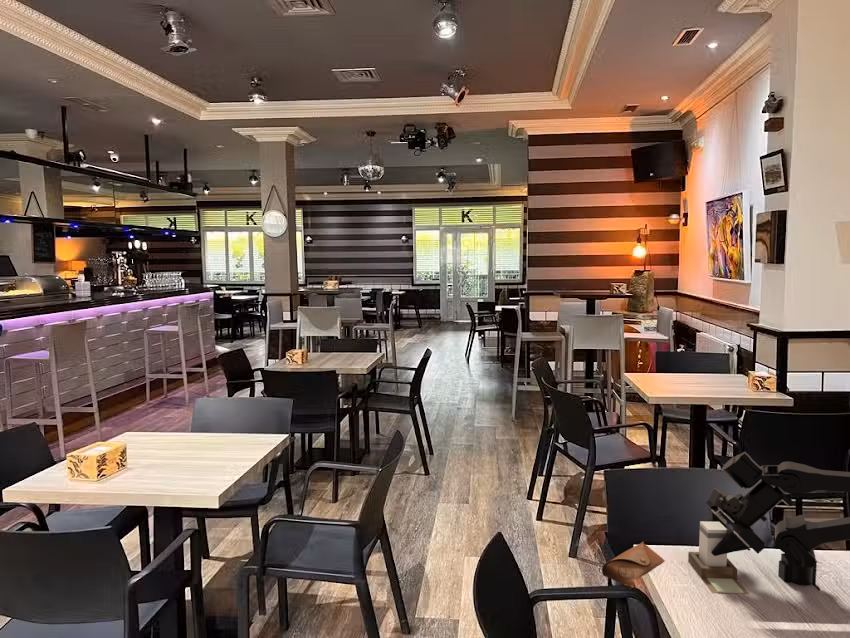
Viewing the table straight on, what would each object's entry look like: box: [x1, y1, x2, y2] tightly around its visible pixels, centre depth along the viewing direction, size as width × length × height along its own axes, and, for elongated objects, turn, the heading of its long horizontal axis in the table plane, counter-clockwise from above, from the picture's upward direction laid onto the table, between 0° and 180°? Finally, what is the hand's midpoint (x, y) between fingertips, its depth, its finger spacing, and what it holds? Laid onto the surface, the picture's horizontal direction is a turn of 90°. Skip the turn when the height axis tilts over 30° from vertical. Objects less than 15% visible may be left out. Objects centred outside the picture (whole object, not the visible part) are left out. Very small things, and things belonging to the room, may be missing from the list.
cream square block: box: [698, 520, 728, 567], centre depth 139 cm, size 5×5×11 cm
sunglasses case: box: [601, 541, 666, 589], centre depth 142 cm, size 18×7×7 cm
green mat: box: [707, 578, 744, 594], centre depth 132 cm, size 6×6×1 cm
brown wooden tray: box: [687, 551, 750, 595], centre depth 136 cm, size 8×14×4 cm, turn 176°
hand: (706, 547), depth 139 cm, fingers open, 6 cm apart
